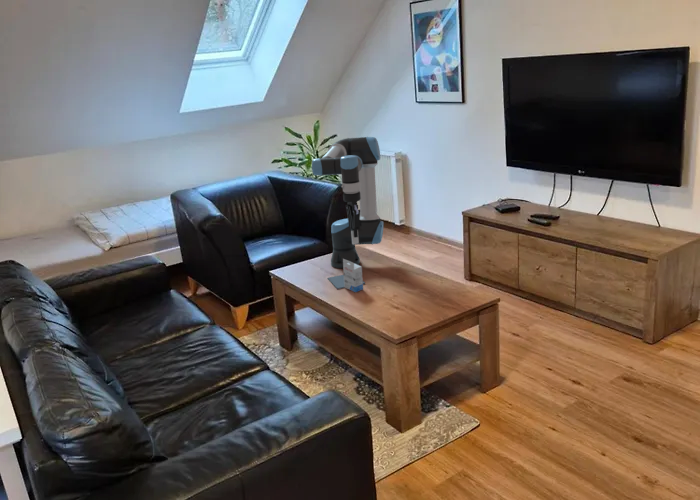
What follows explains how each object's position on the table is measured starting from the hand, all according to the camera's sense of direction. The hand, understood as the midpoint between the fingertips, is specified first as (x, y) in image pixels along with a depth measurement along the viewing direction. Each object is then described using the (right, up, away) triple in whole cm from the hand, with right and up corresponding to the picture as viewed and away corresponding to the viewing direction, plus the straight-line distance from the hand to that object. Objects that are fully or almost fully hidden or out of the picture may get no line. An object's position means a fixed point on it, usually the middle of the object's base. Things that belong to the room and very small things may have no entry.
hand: (355, 243), depth 282 cm
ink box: (-1, -21, +15) cm, 26 cm away
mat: (-4, -18, +26) cm, 32 cm away
